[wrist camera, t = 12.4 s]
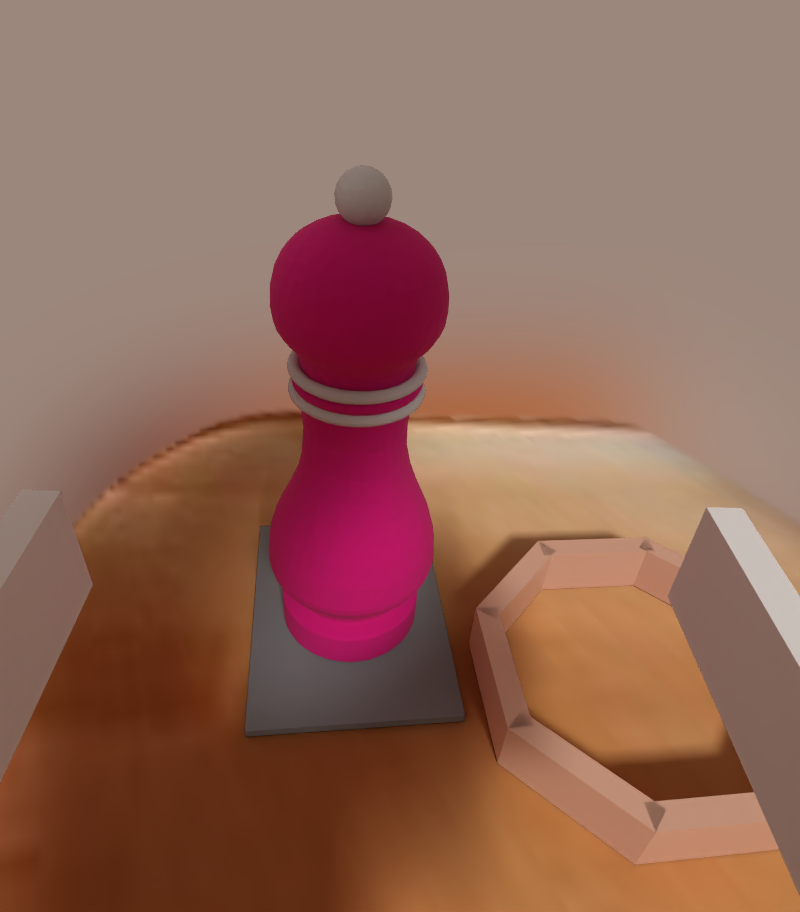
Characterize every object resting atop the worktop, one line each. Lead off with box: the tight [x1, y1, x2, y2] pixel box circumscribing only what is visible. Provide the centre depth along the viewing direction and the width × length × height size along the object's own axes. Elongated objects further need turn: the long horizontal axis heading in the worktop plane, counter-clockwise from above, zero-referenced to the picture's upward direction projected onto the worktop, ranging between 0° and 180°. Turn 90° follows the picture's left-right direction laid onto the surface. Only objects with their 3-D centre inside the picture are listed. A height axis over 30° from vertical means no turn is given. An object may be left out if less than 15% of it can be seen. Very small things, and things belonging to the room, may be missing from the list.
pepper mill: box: [269, 165, 449, 662], centre depth 26 cm, size 7×7×20 cm
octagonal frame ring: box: [469, 537, 779, 865], centre depth 29 cm, size 14×14×2 cm
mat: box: [245, 526, 465, 737], centre depth 32 cm, size 9×12×1 cm
